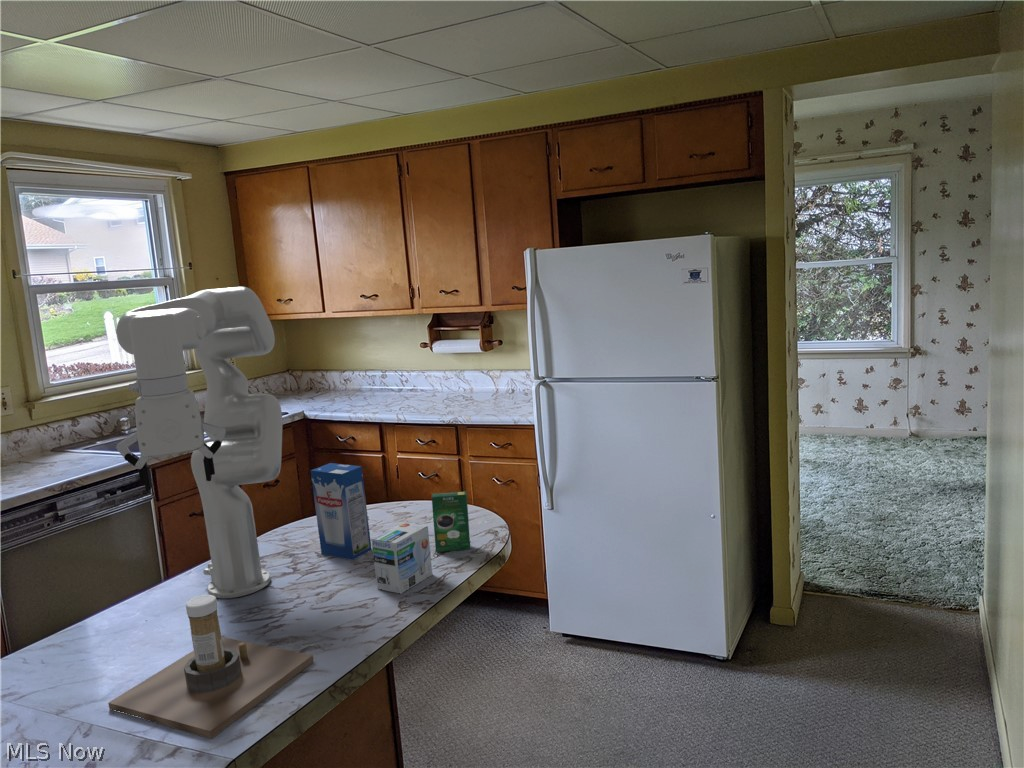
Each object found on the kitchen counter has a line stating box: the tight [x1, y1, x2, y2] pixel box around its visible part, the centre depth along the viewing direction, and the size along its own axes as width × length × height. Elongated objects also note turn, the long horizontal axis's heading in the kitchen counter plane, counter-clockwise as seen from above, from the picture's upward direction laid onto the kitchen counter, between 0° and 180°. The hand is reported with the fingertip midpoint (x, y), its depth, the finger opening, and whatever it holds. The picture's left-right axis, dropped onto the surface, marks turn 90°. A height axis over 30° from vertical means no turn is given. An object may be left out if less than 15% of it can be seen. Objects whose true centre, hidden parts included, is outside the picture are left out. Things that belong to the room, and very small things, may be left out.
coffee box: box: [431, 490, 471, 553], centre depth 175 cm, size 8×3×13 cm, turn 94°
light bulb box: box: [370, 521, 433, 595], centre depth 159 cm, size 11×7×11 cm, turn 148°
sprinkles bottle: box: [185, 594, 226, 672], centre depth 125 cm, size 5×5×14 cm
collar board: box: [108, 636, 314, 739], centre depth 126 cm, size 22×22×4 cm
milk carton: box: [309, 462, 373, 561], centre depth 178 cm, size 10×6×20 cm, turn 58°
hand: (179, 484), depth 134 cm, fingers open, 9 cm apart
